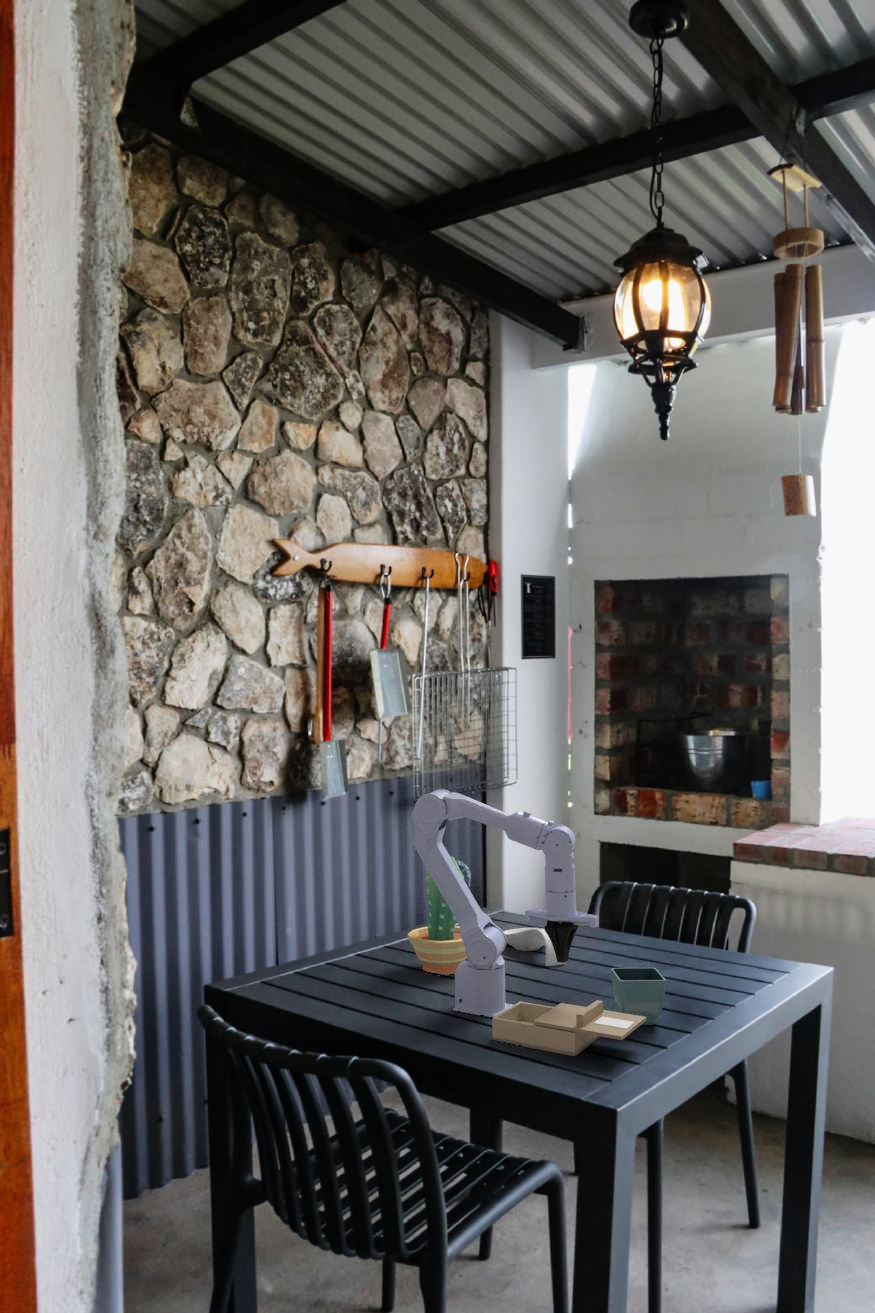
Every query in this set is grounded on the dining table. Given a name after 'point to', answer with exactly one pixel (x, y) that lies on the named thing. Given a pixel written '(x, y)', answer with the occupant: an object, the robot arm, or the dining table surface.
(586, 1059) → the dining table surface
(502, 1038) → the box
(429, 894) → the potted cactus
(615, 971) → the flower pot
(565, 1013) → the mailer lid
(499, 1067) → the dining table surface
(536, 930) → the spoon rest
